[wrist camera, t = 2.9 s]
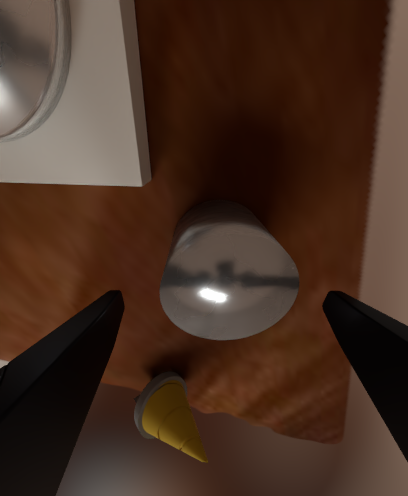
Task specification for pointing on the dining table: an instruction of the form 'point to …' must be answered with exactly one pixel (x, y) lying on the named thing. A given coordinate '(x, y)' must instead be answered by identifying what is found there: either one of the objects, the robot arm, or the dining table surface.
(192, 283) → the silver flared knob
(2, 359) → the dining table surface
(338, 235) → the dining table surface
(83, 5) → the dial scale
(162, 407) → the yellow spiral cone
